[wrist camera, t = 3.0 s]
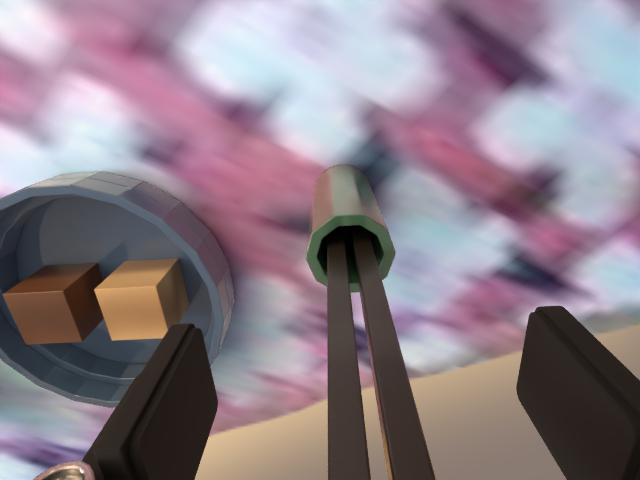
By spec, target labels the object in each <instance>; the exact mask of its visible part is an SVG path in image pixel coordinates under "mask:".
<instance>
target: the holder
mask: <svg viewBox="0 0 640 480" xmlns="http://www.w3.org/2000/svg"><path fill="white" fill-rule="evenodd" d="M352 225H361V226H362V227H364V228H366V229H367V230H368V231H369V235H370V239H371V242H372V246H373V250H374V253H375V257H376V261H377V264H378V268H379V272H380V275H381V279H382V280H383V279H384V278H386V276H387V275H388V273H389V270H390V267H391V264H392V262H393V259H394V256H395V249H394V246H393V243H392V241H391V238H390V235H389V232H388V229H387V227H386V224H385V222H384V219H383V217H382V214H381V212H380V209H379V207H378V204H377V202H376V199H375V197H374V194H373V192H372V189H371V187H370V184H369V182H368V179H367V177H366V176H365V175H364V174H363V173H362V172H361V171H360V170H358V169H357V168H355V167H352V166H349V165H336V166H333V167H330V168H328V169H327V170H325V171H324V172H323V173H322V174H321V175H320V176H319V178H318V179H317V181H316V184H315V188H314V193H313V198H312V206H311V215H310V223H309V232H308V240H307V249H306V260H307V262H308V264H309V267H310V269H311V271H312V273H313V275H314V278H315V279H316V281H318V282H320V283H321V284H323V285H325V286H327V235H328V234H329V233H330V232H332V231H333V230H334V229H335V228H337V227H338V226H343V230H344V240H345V249H346V258H347V267H348V276H349V285H350V293H351V292H360V290H359V283H358V277H357V270H356V264H355V257H354V251H353V245H352V238H351V232H350V226H352Z"/></svg>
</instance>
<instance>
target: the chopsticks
mask: <svg viewBox="0 0 640 480" xmlns="http://www.w3.org/2000/svg"><path fill="white" fill-rule="evenodd" d="M350 232H351V238H352V245H353V251H354V257H355V264H356V270H357V277H358V283H359V290H360V296H361V303H362V309H363V316H364V322H365V329H366V335H367V342H368V348H369V355H370V361H371V368H372V374H373V381H374V387H375V394H376V400H377V406H378V413H379V420H380V426H381V433H382V438H383V445H384V452H385V458H386V464H387V472H388V478H389V480H436V478H435V475H434V471H433V467H432V463H431V460H430V456H429V453H428V449H427V445H426V441H425V438H424V434H423V430H422V427H421V423H420V419H419V416H418V412H417V408H416V404H415V401H414V397H413V393H412V390H411V386H410V382H409V379H408V375H407V371H406V368H405V364H404V360H403V356H402V353H401V349H400V345H399V342H398V338H397V334H396V331H395V327H394V323H393V320H392V316H391V312H390V309H389V305H388V301H387V297H386V294H385V290H384V286H383V283H382V279H381V275H380V272H379V268H378V264H377V261H376V257H375V253H374V250H373V246H372V242H371V239H370V235H369V231H368V230H367V229H366V228H364V227H362V226H361V225H352V226H350ZM327 312H328V480H371V477H370V468H369V459H368V449H367V440H366V432H365V422H364V413H363V404H362V395H361V385H360V376H359V367H358V358H357V349H356V340H355V331H354V322H353V312H352V303H351V294H350V285H349V276H348V267H347V258H346V249H345V240H344V230H343V226H338V227H337V228H335V229H334V230H333V231H332V232H330V233H329V234H328V235H327Z"/></svg>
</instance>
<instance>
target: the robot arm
mask: <svg viewBox="0 0 640 480" xmlns="http://www.w3.org/2000/svg"><path fill="white" fill-rule="evenodd" d="M517 395H518V398H519V400H520V402H521V404H522V406H523V407H524V409H525V410H526V412H527V414H528V415H529V417H530V419H531V421H532V422H533V424H534V426H535V427H536V429H537V431H538V432H539V434H540V436H541V437H542V439H543V441H544V442H545V444H546V446H547V447H548V449H549V451H550V452H551V454H552V456H553V457H554V459H555V461H556V462H557V464H558V466H559V467H560V469H561V471H562V472H563V474H564V476H565V477H566V479H567V480H640V381H639V379H637V378H636V377H635V376H634V375H633V374H632V373H631V372H630V371H629V370H628V369H627V368H626V367H625V366H624V365H623V364H622V363H621V362H620V361H619V360H618V359H617V358H616V357H615V356H614V355H613V354H612V353H611V352H610V351H608V350H607V349H606V348H605V347H604V346H603V345H602V344H601V343H600V342H599V341H598V340H597V339H596V338H595V337H594V336H593V335H592V334H591V333H590V332H589V331H588V330H587V329H586V328H585V327H584V326H583V325H582V324H581V323H580V322H578V321H577V320H576V319H575V318H574V317H573V316H572V315H571V314H570V313H569V312H568V311H567V310H566V309H565V308H564V307H562V306H544V307H538V308H536V310H535V312H532V313H531V314H530V315H529V319H528V325H527V330H526V336H525V342H524V347H523V353H522V359H521V364H520V370H519V376H518V382H517ZM217 406H218V400H217V395H216V390H215V386H214V381H213V377H212V373H211V368H210V364H209V360H208V355H207V351H206V346H205V342H204V338H203V333H202V330H201V329H200V328H196V327H195V325H194V324H193V323H186V324H173V325H171V326H170V328H169V329H168V331H167V332H166V334H165V336H164V337H163V339H162V340H161V342H160V344H159V345H158V347H157V348H156V350H155V352H154V353H153V355H152V356H151V358H150V359H149V361H148V363H147V364H146V366H145V367H144V369H143V371H142V372H141V373H140V374H138V375H137V376H136V378H135V379H134V380H133V382H132V383H131V385H130V387H129V388H128V390H127V391H126V393H125V394H124V396H123V397H122V399H121V401H120V402H119V404H118V405H117V407H116V408H115V410H114V412H113V413H112V415H111V416H110V418H109V419H108V421H107V423H106V424H105V426H104V427H103V429H102V430H101V432H100V433H99V435H98V437H97V438H96V440H95V441H94V443H93V444H92V446H91V448H90V449H89V451H88V452H87V454H86V455H85V457H84V458H83V460H82V461H70V462H65V463H61V464H59V465H56V466H54V467H52V468H49V469H48V470H46V471H45V472H43V473H41V474H40V475H38V476H37V477H36V478H34V479H33V480H194V479H195V476H196V473H197V470H198V467H199V464H200V460H201V458H202V454H203V452H204V449H205V446H206V443H207V440H208V436H209V433H210V430H211V427H212V424H213V421H214V418H215V415H216V412H217Z"/></svg>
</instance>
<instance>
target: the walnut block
mask: <svg viewBox="0 0 640 480" xmlns="http://www.w3.org/2000/svg"><path fill="white" fill-rule="evenodd" d="M103 281H104V280H103V277H102V274H101V271H100V268H99V265H98V263H86V264H68V265H49V266H44V267H42V268H41V269H39V270H38V271H36V272H35V273H33V274H32V275H30V276H29V277H27V278H26V279H24V280H23V281H22V282H20V283H19V284H17V285H16V286H14V287H13V288H11V289H10V290H8V291H7V292H5V293H4V294H3V296H4V298H5V300H6V303H7V305H8V307H9V309H10V311H11V314H12V316H13V318H14V320H15V322H16V324H17V327H18V329H19V331H20V333H21V335H22V337H23V340H24V342H25V344H47V343H69V342H83V341H84V340H85V339H86V338H87V336H88V335H89V334H90V333H91V332H92V331H93V330H94V329H95V328H96V327H97V326H98V325H99V323H100V322H101V321H102V320H103V319H104V316H103V314H102V311H101V308H100V305H99V302H98V299H97V296H96V294H95V291H94V289H95V288H96V287H97V286H98V285H100V284H101V283H102V282H103Z"/></svg>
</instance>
